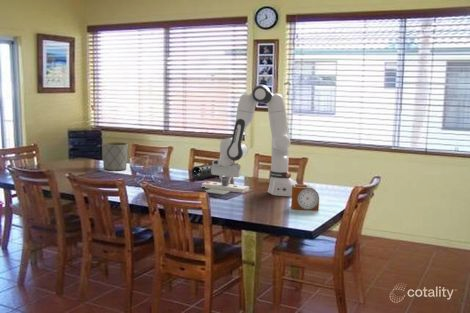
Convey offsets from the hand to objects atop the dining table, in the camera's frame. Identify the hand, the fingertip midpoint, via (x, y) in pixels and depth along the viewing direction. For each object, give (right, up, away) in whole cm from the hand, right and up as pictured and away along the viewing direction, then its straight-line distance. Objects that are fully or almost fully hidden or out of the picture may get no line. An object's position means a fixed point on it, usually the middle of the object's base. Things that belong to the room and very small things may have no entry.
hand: (225, 182), depth 350 cm
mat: (-5, -5, -10) cm, 13 cm away
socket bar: (0, -4, +1) cm, 4 cm away
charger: (0, -4, +1) cm, 4 cm away
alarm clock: (+46, -13, -46) cm, 66 cm away
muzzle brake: (-13, +1, +38) cm, 41 cm away
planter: (-86, +7, +59) cm, 104 cm away
